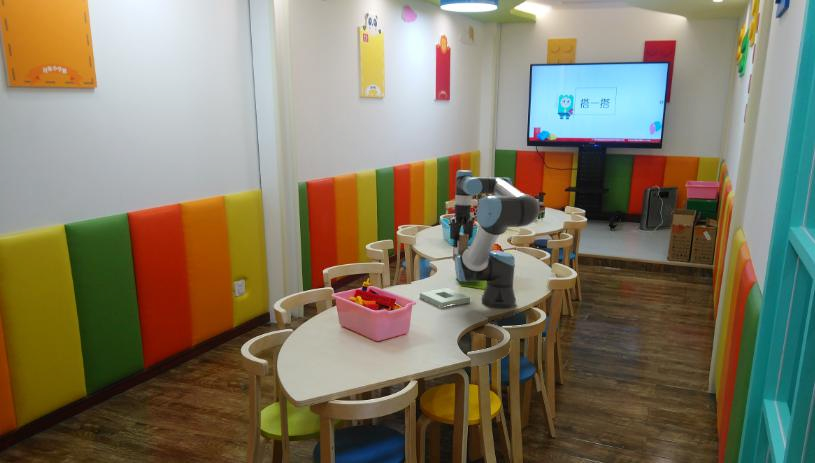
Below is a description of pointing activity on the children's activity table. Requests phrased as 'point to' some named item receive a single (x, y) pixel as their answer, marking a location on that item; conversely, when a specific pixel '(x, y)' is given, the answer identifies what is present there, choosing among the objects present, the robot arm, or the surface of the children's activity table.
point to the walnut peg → (462, 244)
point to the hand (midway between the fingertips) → (460, 253)
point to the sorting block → (449, 294)
